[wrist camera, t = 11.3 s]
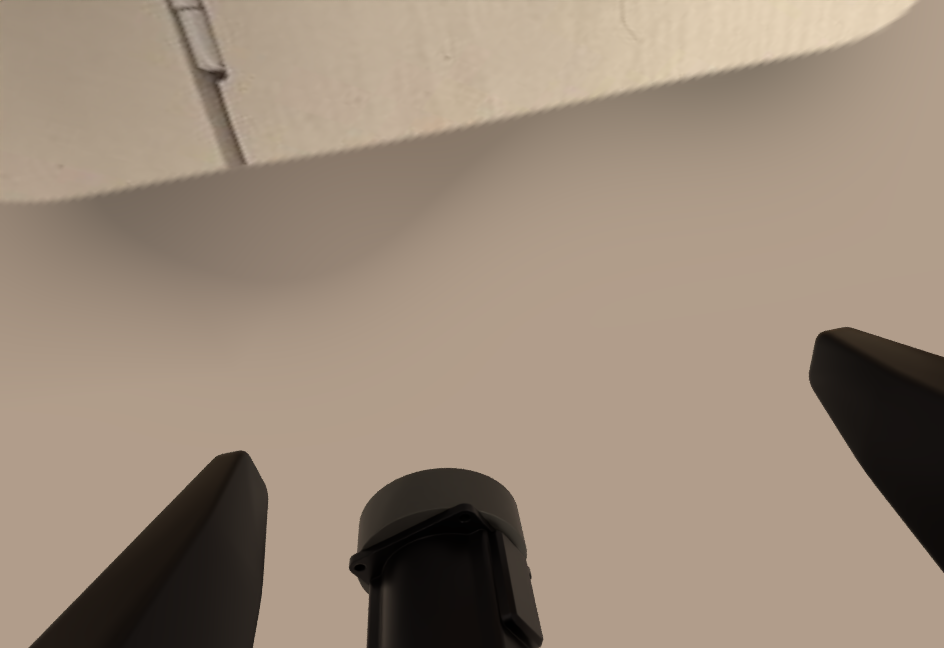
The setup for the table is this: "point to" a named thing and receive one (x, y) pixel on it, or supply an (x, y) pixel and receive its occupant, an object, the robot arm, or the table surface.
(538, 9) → the table surface
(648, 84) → the table surface
